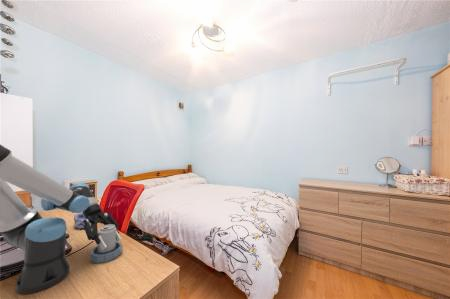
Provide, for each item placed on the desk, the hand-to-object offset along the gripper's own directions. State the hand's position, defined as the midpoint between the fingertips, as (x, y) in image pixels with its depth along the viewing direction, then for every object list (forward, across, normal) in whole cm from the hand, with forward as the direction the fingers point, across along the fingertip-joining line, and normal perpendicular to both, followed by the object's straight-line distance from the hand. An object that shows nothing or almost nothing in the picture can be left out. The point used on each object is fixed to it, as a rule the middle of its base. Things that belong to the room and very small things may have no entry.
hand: (112, 244), depth 87 cm
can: (0, 0, -5) cm, 5 cm away
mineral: (-29, -18, -38) cm, 51 cm away
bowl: (+2, 0, -7) cm, 7 cm away
